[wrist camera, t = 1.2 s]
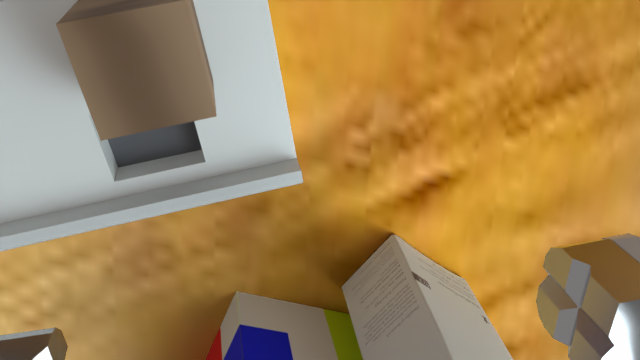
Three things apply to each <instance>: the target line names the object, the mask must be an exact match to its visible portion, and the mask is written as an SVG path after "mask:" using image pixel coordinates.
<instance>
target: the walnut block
mask: <svg viewBox="0 0 640 360" xmlns="http://www.w3.org/2000/svg"><path fill="white" fill-rule="evenodd" d="M56 26H57V28H58V31H59V34H60V36H61V39H62V41H63V44H64V47H65V49H66V52H67V54H68V57H69V60H70V62H71V65H72V67H73V70H74V73H75V75H76V78H77V80H78V83H79V86H80V88H81V91H82V93H83V96H84V99H85V101H86V104H87V106H88V109H89V112H90V114H91V117H92V119H93V122H94V125H95V127H96V130H97V132H98V135H99V138H100V140H101V141H102V140H107V139H111V138H116V137H121V136H126V135H130V134H135V133H140V132H145V131H149V130H154V129H159V128H164V127H169V126H173V125H178V124H183V123H188V122H192V121H197V120H202V119H207V118H211V117H216V116H217V115H216V105H215V94H214V84H213V77H212V73H211V69H210V65H209V61H208V57H207V54H206V50H205V46H204V42H203V38H202V34H201V30H200V26H199V22H198V18H197V14H196V10H195V6H194V2H193V0H78V1H77V2H76V3H75V4H74V5H73V6H72V7H71V8H70V9H69V10H68V12H67V13H66V14H65V15H64V16H63V17H62V18H61V19H60V20H59V21H58V22H57V23H56Z"/></svg>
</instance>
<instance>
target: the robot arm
mask: <svg viewBox="0 0 640 360" xmlns="http://www.w3.org/2000/svg"><path fill="white" fill-rule="evenodd" d="M543 267H544V269H545V270H546V272H547V273H548V276H547V277H546V279H545V280H544V281H543V282H542V283H541V284H540V285H539V288H538V294H537V299H536V303H537V308H538V313H539V317H540V319H541V321H542V323H543V325H544V327H545V329H546V330H547V331H548V332H549V334H550V335H551V336H552V338H554V339H556V340H558V341H560V342H562V343H564V344H566V345H568V346H569V349H568V357H569V358H570V360H640V238H639V237H638V236H635V235H632V234H623V235H617V236H612V237H607V238H603V239H600V240H593V241H587V242H581V243H575V244H569V245H563V246H557V247H551V248H550V250H549V251H548V253H547V254H546V256H545V260H544V265H543ZM67 347H68V346H67V344H66V341H65V338H64V336H63V333H62V331H61V330H60V329H58V328H50V329H43V330H36V331H29V332H22V333H15V334H8V335H1V336H0V360H65V356H66V351H67Z"/></svg>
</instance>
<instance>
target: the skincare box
mask: <svg viewBox="0 0 640 360" xmlns="http://www.w3.org/2000/svg"><path fill="white" fill-rule="evenodd" d="M342 290H343V293H344V297H345V300H346V304H347V307H348V310H349V314H350V317H351V320H352V324H353V327H354V331H355V334H356V337H357V341H358V344H359V348H360V351H361V354H362V358H363V360H513V359H512V357H511V355H510V353H509V352H508V350H507V348H506V347H505V345H504V343H503V342H502V340H501V338H500V337H499V335H498V333H497V332H496V330H495V329H494V327H493V325H492V324H491V322H490V320H489V319H488V317H487V315H486V314H485V312H484V310H483V309H482V307H481V305H480V303H479V302H478V300H477V298H476V297H475V295H474V293H473V292H472V290H471V288H470V287H469V285H468V283H467V282H466V281H465V279H463V278H461V277H460V276H457V275H455V274H453V273H452V272H450V271H448V270H447V269H445V268H443V267H442V266H440V265H438V264H437V263H435V262H434V261H432V260H431V259H429V258H428V257H426V256H424V255H423V254H421V253H420V252H419V251H417V250H416V249H414V248H413V247H412V246H410V245H409V244H407V243H406V242H405V241H404V240H402V239H401V238H400V237H398V236H397V235H394V234H393V235H391V236H390V237H389V238H388V239H387V240H386V241H385V242H384V243H383V244H382V245H381V246H380V247H379V248H378V249H377V250H376V251H375V252H374V253H373V254H372V255H371V257H370V258H369V259H368V260H367V261H366V262H365V263H364V264H363V265H362V266H361V267H360V268H359V269H358V270H357V271H356V272H355V273H354V274H353V275H352V276H351V277H350V278H349V279H348V280H347V281H346V282H345V284H344V285H343V286H342Z"/></svg>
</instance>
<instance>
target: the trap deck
mask: <svg viewBox="0 0 640 360" xmlns="http://www.w3.org/2000/svg"><path fill="white" fill-rule="evenodd" d="M77 1H78V0H0V251H4V250H8V249H13V248H17V247H22V246H26V245H30V244H35V243H39V242H44V241H48V240H52V239H57V238H61V237H66V236H70V235H75V234H79V233H83V232H88V231H92V230H97V229H101V228H106V227H110V226H114V225H119V224H123V223H128V222H132V221H137V220H141V219H145V218H150V217H154V216H159V215H163V214H167V213H172V212H176V211H181V210H185V209H190V208H194V207H198V206H203V205H207V204H212V203H216V202H221V201H225V200H229V199H234V198H238V197H243V196H247V195H252V194H256V193H260V192H265V191H269V190H274V189H278V188H282V187H287V186H291V185H296V184H300V183H303V178H302V173H301V169H300V166H299V163H298V160H297V157H296V152H295V146H294V141H293V136H292V130H291V125H290V119H289V114H288V109H287V103H286V98H285V92H284V87H283V82H282V76H281V71H280V65H279V60H278V54H277V49H276V44H275V38H274V33H273V27H272V22H271V17H270V11H269V6H268V0H193V2H194V6H195V10H196V14H197V18H198V22H199V26H200V30H201V34H202V38H203V42H204V46H205V50H206V54H207V57H208V61H209V65H210V69H211V73H212V77H213V84H214V94H215V105H216V115H217V116H216V117H211V118H207V119H202V120H197V121H192V122H188V123H183V124H178V125H173V126H169V127H164V128H159V129H154V130H149V131H145V132H140V133H135V134H130V135H126V136H121V137H116V138H111V139H107V140H102V141H101V140H100V138H99V135H98V132H97V130H96V127H95V125H94V122H93V119H92V117H91V114H90V112H89V109H88V106H87V104H86V101H85V99H84V96H83V93H82V91H81V88H80V86H79V83H78V80H77V78H76V75H75V73H74V70H73V67H72V65H71V62H70V60H69V57H68V54H67V52H66V49H65V47H64V44H63V41H62V39H61V36H60V34H59V31H58V28H57V26H56V23H57V22H58V21H59V20H60V19H61V18H62V17H63V16H64V15H65V14H66V13H67V12H68V10H69V9H70V8H71V7H72V6H73V5H74V4H75V3H76V2H77Z"/></svg>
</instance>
